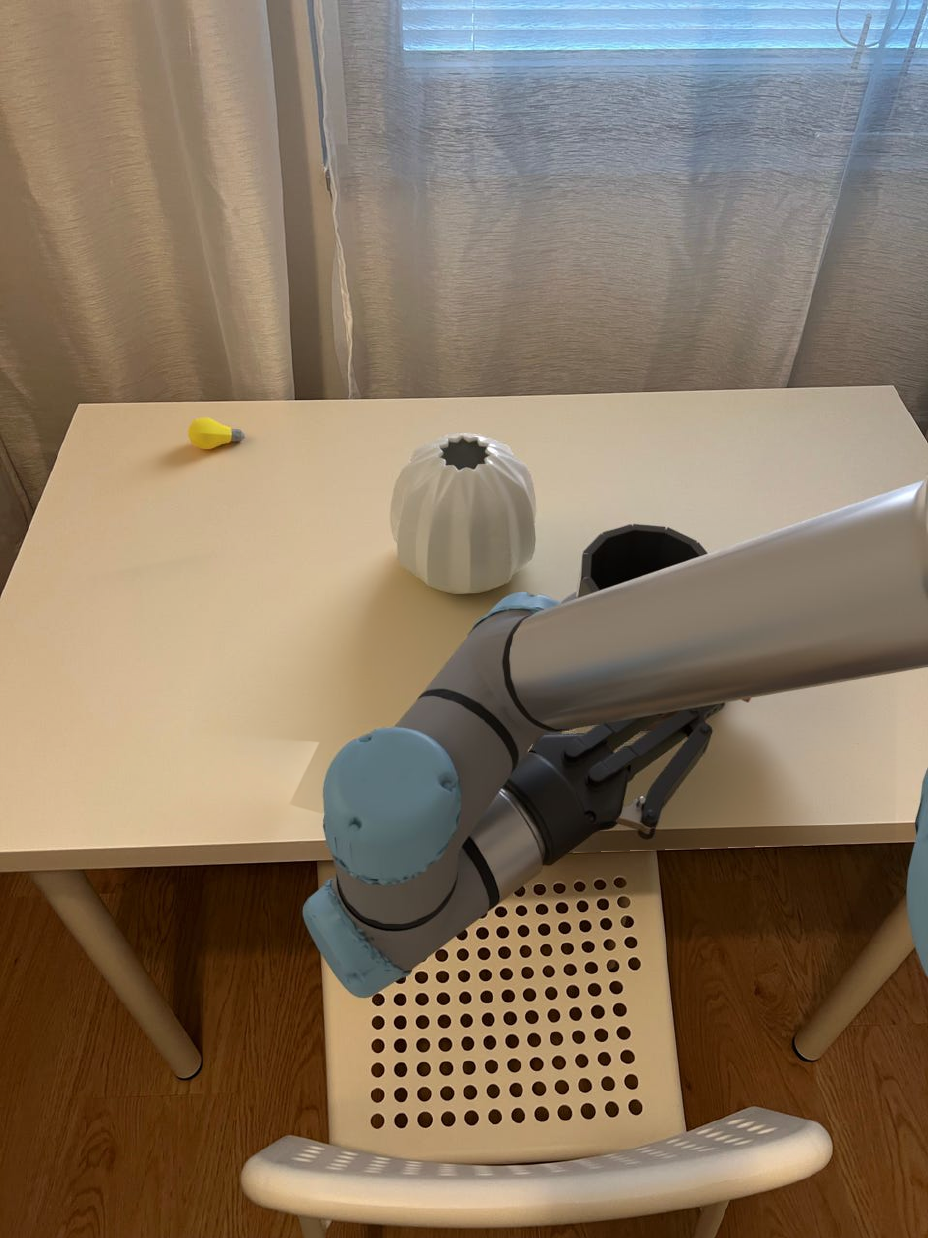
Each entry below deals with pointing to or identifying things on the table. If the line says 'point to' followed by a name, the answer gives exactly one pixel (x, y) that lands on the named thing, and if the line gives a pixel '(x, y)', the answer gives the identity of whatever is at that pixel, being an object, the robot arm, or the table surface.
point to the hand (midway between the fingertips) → (740, 664)
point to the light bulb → (212, 433)
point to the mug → (633, 556)
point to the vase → (464, 514)
